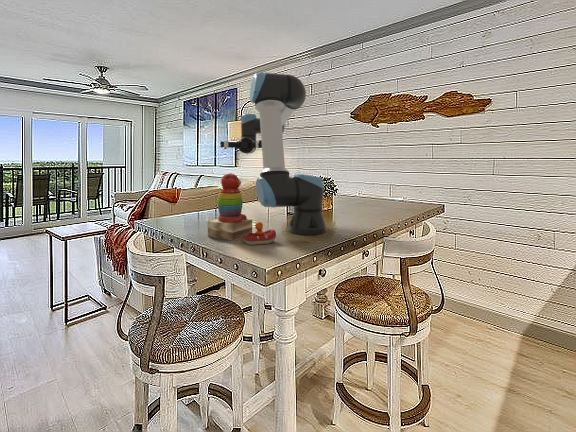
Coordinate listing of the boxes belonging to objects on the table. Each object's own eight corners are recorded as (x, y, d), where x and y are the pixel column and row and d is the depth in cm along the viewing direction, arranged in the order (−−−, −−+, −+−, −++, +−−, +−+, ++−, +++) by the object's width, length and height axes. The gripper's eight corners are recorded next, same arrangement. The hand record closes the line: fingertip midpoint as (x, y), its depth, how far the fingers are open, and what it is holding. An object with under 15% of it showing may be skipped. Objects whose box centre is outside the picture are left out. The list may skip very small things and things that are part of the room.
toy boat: (278, 244, 127) (278, 223, 126) (246, 246, 123) (246, 225, 122) (272, 239, 134) (272, 219, 133) (241, 241, 130) (241, 221, 129)
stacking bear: (239, 223, 132) (239, 174, 129) (213, 222, 133) (212, 173, 130) (247, 218, 142) (247, 173, 139) (223, 217, 144) (222, 172, 141)
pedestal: (252, 234, 141) (252, 219, 140) (232, 240, 131) (232, 224, 130) (228, 231, 147) (228, 216, 146) (207, 236, 137) (207, 221, 136)
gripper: (272, 153, 175) (270, 153, 155) (220, 152, 175) (211, 152, 155) (272, 137, 174) (270, 135, 153) (220, 137, 174) (211, 134, 153)
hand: (240, 144), depth 154 cm, fingers open, 13 cm apart
